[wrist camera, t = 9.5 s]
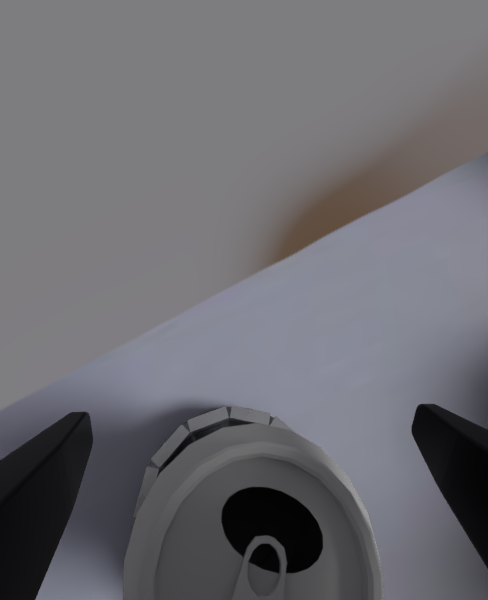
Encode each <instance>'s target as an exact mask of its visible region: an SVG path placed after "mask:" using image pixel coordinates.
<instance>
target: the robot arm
mask: <svg viewBox="0 0 488 600" xmlns="http://www.w3.org/2000/svg"><path fill="white" fill-rule="evenodd" d="M412 435H413V437H414V440H415V442H416V444H417V446H418V448H419V450H420V452H421V454H422V456H423V458H424V460H425V462H426V464H427V466H428V468H429V470H430V472H431V474H432V476H433V478H434V480H435V482H436V484H437V485H438V487H439V489H440V491H441V493H442V494H443V496H444V498H445V500H446V501H447V503H448V504H449V506H450V508H451V509H452V511H453V513H454V514H455V516H456V518H457V519H458V521H459V522H460V524H461V526H462V527H463V529H464V531H465V532H466V534H467V536H468V537H469V539H470V540H471V542H472V544H473V545H474V547H475V549H476V550H477V552H478V554H479V555H480V557H481V558H482V560H483V562H484V563H485V565H486V567H487V568H488V430H487V429H485V428H483V427H480V426H478V425H476V424H474V423H472V422H470V421H468V420H466V419H464V418H462V417H460V416H458V415H456V414H454V413H452V412H450V411H448V410H446V409H444V408H442V407H440V406H437V405H435V404H420V405H418V407H417V409H416V412H415V416H414V420H413V424H412ZM92 443H93V435H92V428H91V421H90V416H89V414H88V413H87V412H72V413H69V414H68V415H66V416H65V417H63V418H62V419H60V420H59V421H57V422H56V423H54V424H53V425H52V426H50V427H49V428H47V429H46V430H44V431H43V432H41V433H40V434H38V435H37V436H35V437H34V438H32V439H31V440H29V441H28V442H27V443H25V444H24V445H22V446H21V447H19V448H18V449H16V450H15V451H13V452H12V453H10V454H9V455H7V456H6V457H4V458H3V459H2V460H0V600H35V599H36V596H37V594H38V591H39V589H40V587H41V584H42V582H43V580H44V577H45V575H46V572H47V570H48V568H49V565H50V563H51V560H52V558H53V556H54V553H55V551H56V548H57V546H58V544H59V541H60V539H61V536H62V534H63V532H64V529H65V527H66V525H67V522H68V520H69V517H70V515H71V512H72V510H73V507H74V504H75V501H76V498H77V494H78V491H79V488H80V484H81V481H82V478H83V475H84V471H85V468H86V465H87V461H88V458H89V455H90V451H91V448H92Z"/></svg>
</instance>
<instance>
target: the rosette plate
mask: <svg viewBox="0 0 488 600" xmlns="http://www.w3.org/2000/svg"><path fill="white" fill-rule="evenodd" d="M253 423H258V424H263V425H268V426H273V427H278V428H284V429H289V430H291V429H290V428H289V427H288V426H287V425H286V424H285V423H283V422H282V421H281V420H280V419H279V418H278V417H277V416H276V417H274V418H273V417H271V416H270V413H266V412H261V411H256V410H252V409H247V408H241V407H236V406H232V407H227V408H226V406H225V407H222V408H219V409H215V410H212V411H208V412H205V413H203V414H201V415H198V416H196V417H194V418H192V419H189V420H187V422H186V423H184V424H183V425H182V424H181V425H180V426H179V427H178V429H177V430H175V431H174V433H173V434H172V435H171V436H170V437H169V438H168V439H167V440H166V441H165V442H164V443H163V445H162V446H161V447H160V448H159V450H158V451H157V452H156V453H155V455H154V456H153V457H152V458H151V460H152V461H151V463H150V465H149V466H147V467H146V471H145V474H144V478H143V481H142V485H141V488H140V492H139V496H138V499H137V503H136V506H135V510H134V514H133V518H136V515H137V512H138V511H139V509H140V507H141V505H142V504H143V502H144V500H145V498H146V497H147V495H148V493H149V491H150V490H151V488H152V486H153V485H154V483H155V481H156V479H157V478H158V476H159V474H160V473H161V472H162V471H163V470H164V469H165V468H166V467H167V466H168V465H169V464H170V463H171V462H172V461H173V460H174V459H175V458H176V457H177V456H178V455H179V454H180V453H181V452H182V451H183V450H184V449H185V448H186V447H187V446H188V445H189V444H191V443H193V442H195V441H197V440H199V439H201V438H203V437H205V436H207V435H209V434H211V433H213V432H215V431H217V430H219V429H221V428H225V427H232V426H239V425H246V424H253ZM291 431H293V430H291ZM293 432H294V431H293ZM294 433H295V432H294ZM133 526H134V525H133ZM133 526H132V530H133Z"/></svg>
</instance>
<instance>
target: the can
mask: <svg viewBox="0 0 488 600" xmlns="http://www.w3.org/2000/svg"><path fill="white" fill-rule="evenodd" d="M123 600H384V587H383V573H382V569H381V565H380V558H379V554H378V550H377V546H376V542H375V539H374V535H373V531H372V527H371V523H370V519H369V515H368V513H367V511H366V509H365V507H364V505H363V503H362V502H361V500H360V498H359V496H358V494H357V492H356V490H355V489H354V487H353V485H352V483H351V481H350V479H349V478H348V476H347V475H346V474H345V473H344V471H343V470H342V469H341V468H340V467H339V466H338V465H337V464H336V463H335V462H334V461H333V460H332V459H331V458H330V457H329V456H328V455H327V454H326V453H325V452H324V450H323V449H322V448H321V447H319V446H317V445H316V444H314V443H312V442H310V441H308V440H307V439H305V438H303V437H301V436H300V435H298V434H296V433H294V432H293V431H291V430H289V429H284V428H278V427H273V426H268V425H263V424H258V423H253V424H246V425H239V426H232V427H225V428H221V429H219V430H217V431H215V432H213V433H211V434H209V435H207V436H205V437H203V438H201V439H199V440H197V441H195V442H193V443H191V444H189V445H188V446H187V447H186V448H185V449H184V450H183V451H182V452H181V453H180V454H179V455H178V456H177V457H176V458H175V459H174V460H173V461H172V462H171V463H170V464H169V465H168V466H167V467H166V468H165V469H164V470H163V471H162V472H161V473H160V474H159V476H158V478H157V479H156V481H155V483H154V485H153V486H152V488H151V490H150V491H149V493H148V495H147V497H146V498H145V500H144V502H143V504H142V505H141V507H140V509H139V511H138V512H137V515H136V519H135V523H134V526H133V530H132V534H131V537H130V541H129V545H128V548H127V552H126V556H125V559H124V581H123Z"/></svg>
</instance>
